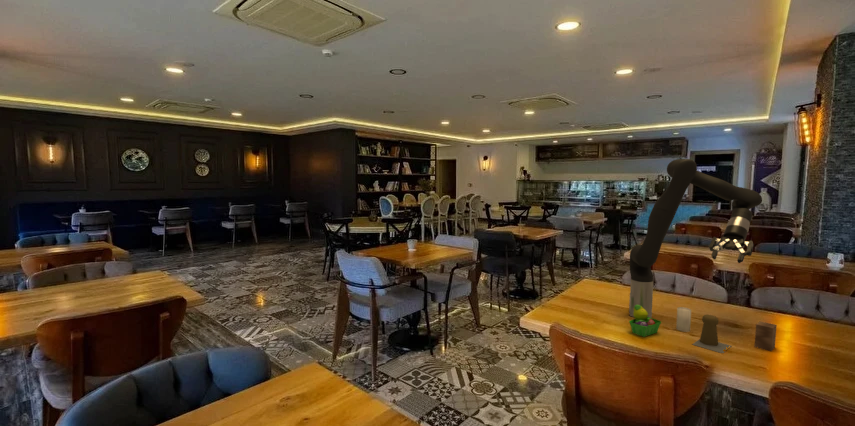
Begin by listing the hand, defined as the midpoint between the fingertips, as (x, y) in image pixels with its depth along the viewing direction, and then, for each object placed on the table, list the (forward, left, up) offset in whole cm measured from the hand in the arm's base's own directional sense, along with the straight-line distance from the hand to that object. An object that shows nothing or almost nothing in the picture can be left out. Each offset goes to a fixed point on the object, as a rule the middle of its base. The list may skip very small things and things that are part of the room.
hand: (726, 260), depth 163 cm
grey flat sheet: (-7, -17, -31) cm, 36 cm away
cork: (-8, -15, -31) cm, 35 cm away
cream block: (-14, -3, -31) cm, 34 cm away
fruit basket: (-30, -12, -31) cm, 45 cm away
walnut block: (+11, -12, -31) cm, 35 cm away
